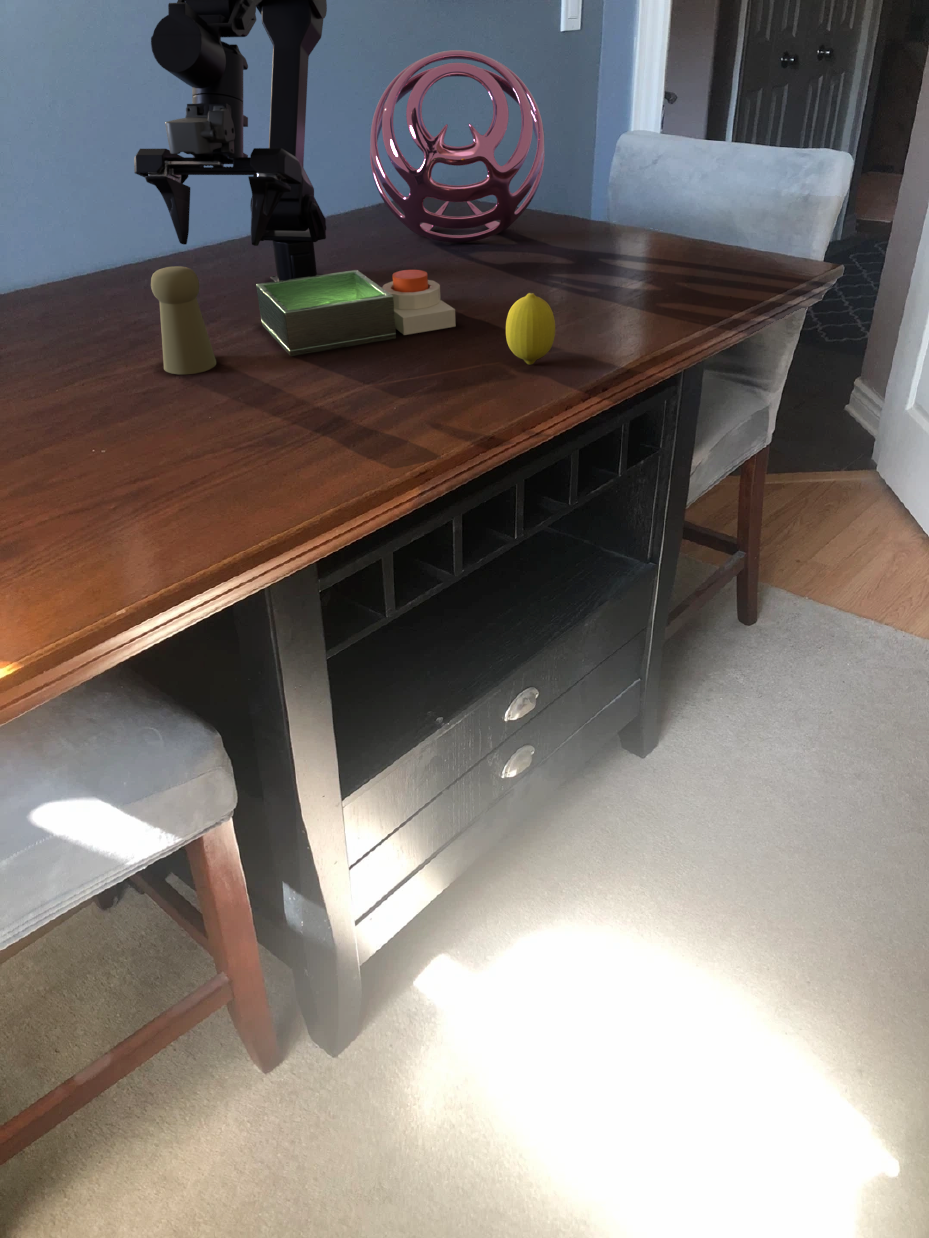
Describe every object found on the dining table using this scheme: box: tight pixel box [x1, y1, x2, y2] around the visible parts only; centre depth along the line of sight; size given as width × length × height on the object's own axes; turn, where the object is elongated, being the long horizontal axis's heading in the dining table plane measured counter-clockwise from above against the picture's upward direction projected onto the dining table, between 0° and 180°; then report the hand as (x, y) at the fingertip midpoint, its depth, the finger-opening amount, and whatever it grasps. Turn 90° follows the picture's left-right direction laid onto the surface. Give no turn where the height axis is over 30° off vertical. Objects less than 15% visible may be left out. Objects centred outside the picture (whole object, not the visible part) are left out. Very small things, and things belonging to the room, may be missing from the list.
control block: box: [381, 279, 456, 336], centre depth 127 cm, size 12×7×4 cm, turn 24°
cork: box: [150, 265, 217, 375], centre depth 112 cm, size 6×6×11 cm
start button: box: [392, 269, 429, 292], centre depth 125 cm, size 4×4×2 cm
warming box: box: [255, 269, 397, 357], centre depth 123 cm, size 13×13×5 cm
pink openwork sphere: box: [369, 49, 546, 244], centre depth 157 cm, size 28×28×27 cm
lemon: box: [505, 292, 556, 365], centre depth 110 cm, size 6×6×8 cm
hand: (218, 244), depth 117 cm, fingers open, 9 cm apart
